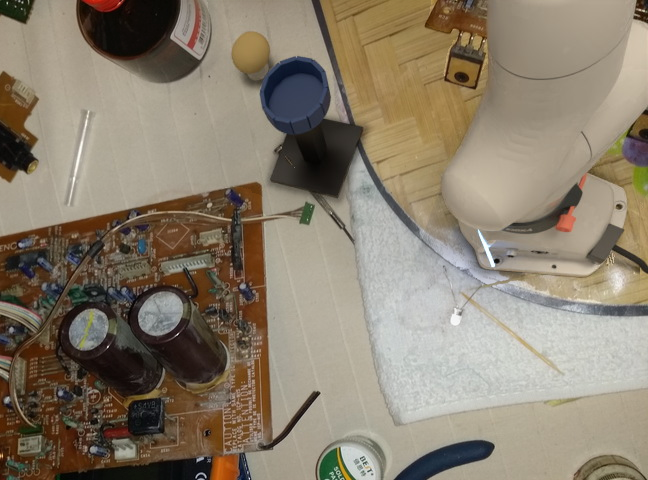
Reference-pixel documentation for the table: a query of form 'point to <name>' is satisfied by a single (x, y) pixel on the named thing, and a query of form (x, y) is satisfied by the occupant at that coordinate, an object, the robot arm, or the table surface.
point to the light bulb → (251, 54)
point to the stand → (318, 158)
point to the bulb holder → (295, 95)
